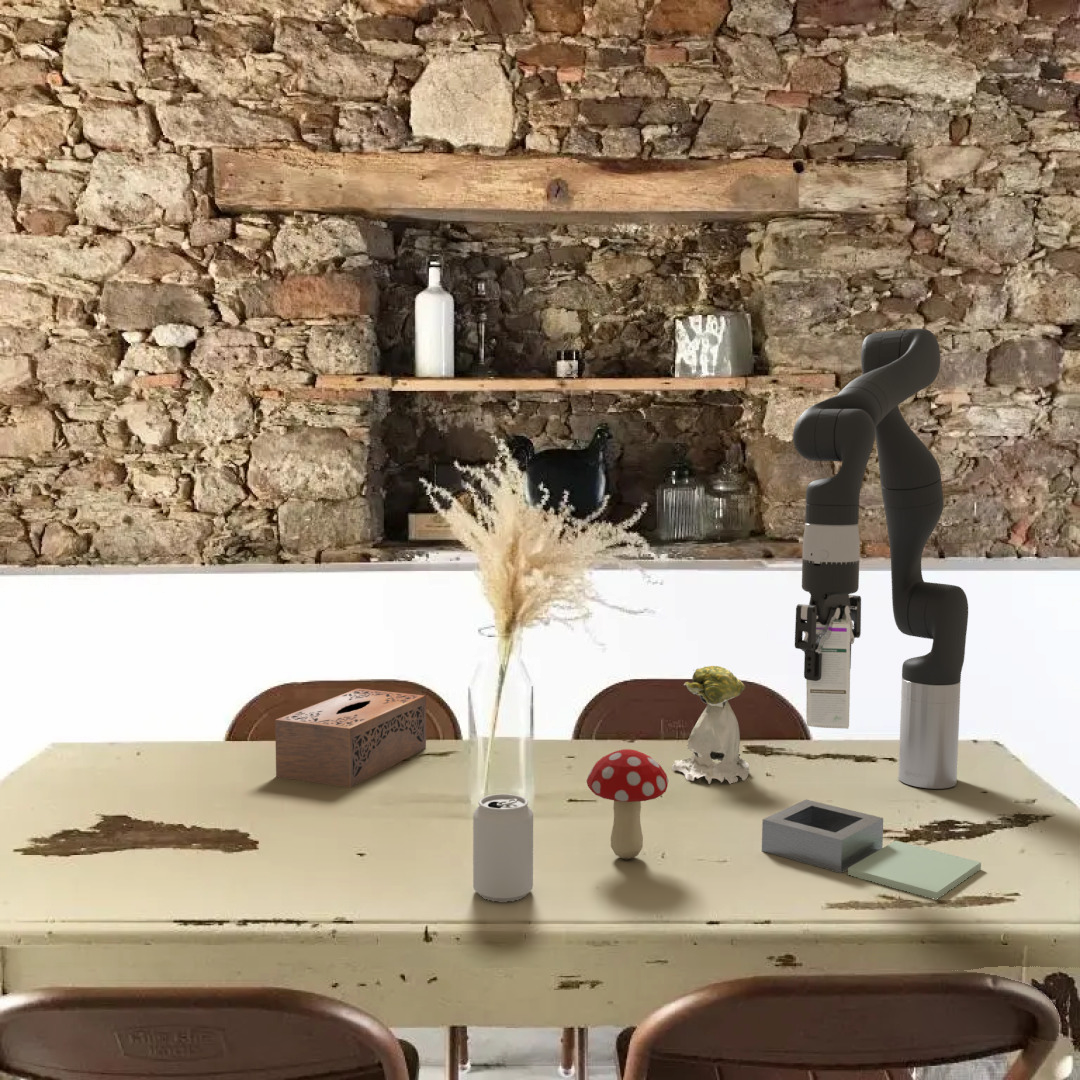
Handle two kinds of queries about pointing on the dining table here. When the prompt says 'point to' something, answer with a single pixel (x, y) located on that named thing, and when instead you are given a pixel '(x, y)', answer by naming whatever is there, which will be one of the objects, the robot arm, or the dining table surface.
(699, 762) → the yellow capped mushroom
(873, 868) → the green mat
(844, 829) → the steel socket
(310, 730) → the tissue box cover
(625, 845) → the decorative mushroom
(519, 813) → the can
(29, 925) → the dining table surface
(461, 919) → the dining table surface
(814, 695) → the syrup box
